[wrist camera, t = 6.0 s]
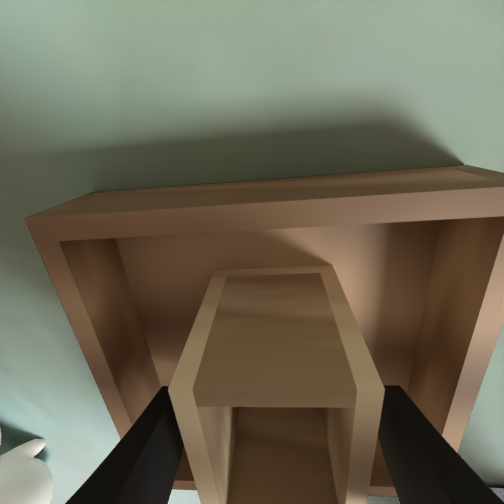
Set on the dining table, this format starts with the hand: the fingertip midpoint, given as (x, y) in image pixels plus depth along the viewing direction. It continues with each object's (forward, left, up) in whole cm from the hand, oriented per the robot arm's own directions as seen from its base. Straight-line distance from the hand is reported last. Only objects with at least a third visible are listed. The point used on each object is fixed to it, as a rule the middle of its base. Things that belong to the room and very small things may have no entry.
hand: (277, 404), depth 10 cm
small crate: (0, 0, -4) cm, 4 cm away
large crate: (0, 0, -4) cm, 4 cm away
